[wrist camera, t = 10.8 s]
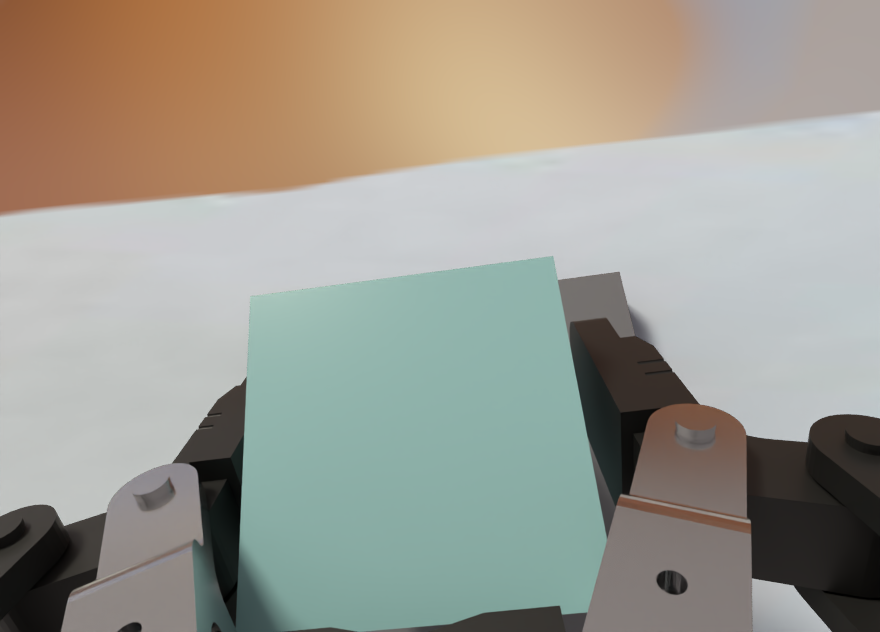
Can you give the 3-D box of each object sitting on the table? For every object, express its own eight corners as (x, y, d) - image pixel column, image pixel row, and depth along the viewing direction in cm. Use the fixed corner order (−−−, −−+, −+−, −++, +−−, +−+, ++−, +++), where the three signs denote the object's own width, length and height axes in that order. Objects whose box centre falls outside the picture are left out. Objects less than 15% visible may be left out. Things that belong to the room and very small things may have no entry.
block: (381, 580, 15) (234, 642, 7) (373, 407, 17) (250, 296, 9) (557, 564, 15) (620, 609, 7) (529, 389, 17) (552, 255, 9)
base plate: (284, 717, 16) (204, 785, 12) (287, 333, 20) (231, 282, 16) (704, 682, 15) (780, 742, 11) (611, 290, 19) (640, 225, 15)
